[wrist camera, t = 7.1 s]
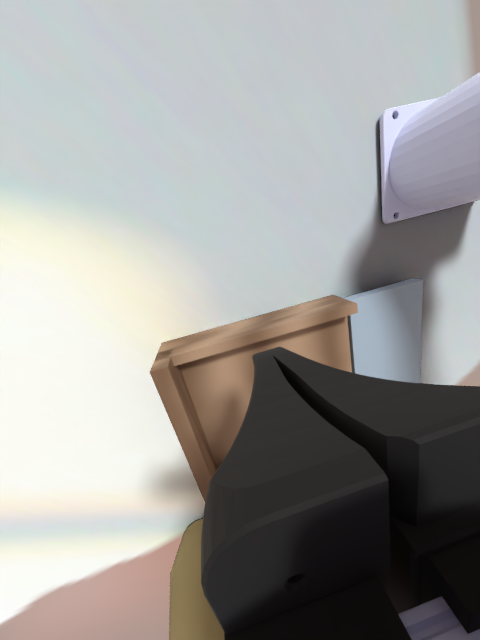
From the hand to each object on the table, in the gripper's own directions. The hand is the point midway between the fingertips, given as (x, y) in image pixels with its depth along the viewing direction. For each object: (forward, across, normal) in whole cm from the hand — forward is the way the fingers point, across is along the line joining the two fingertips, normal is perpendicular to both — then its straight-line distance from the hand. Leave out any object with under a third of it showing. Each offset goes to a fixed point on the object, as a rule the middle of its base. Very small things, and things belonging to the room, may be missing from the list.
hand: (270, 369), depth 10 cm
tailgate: (+8, -9, +8) cm, 15 cm away
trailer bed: (+10, -1, +8) cm, 13 cm away
